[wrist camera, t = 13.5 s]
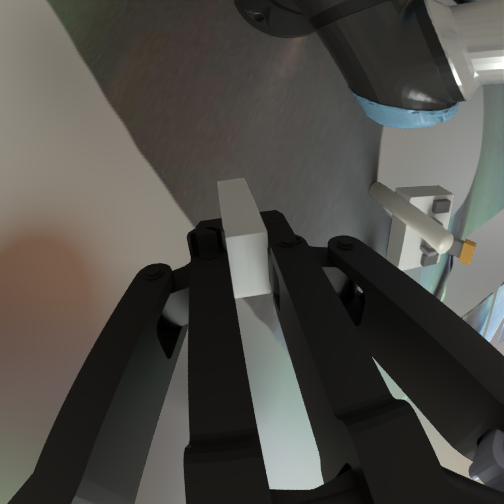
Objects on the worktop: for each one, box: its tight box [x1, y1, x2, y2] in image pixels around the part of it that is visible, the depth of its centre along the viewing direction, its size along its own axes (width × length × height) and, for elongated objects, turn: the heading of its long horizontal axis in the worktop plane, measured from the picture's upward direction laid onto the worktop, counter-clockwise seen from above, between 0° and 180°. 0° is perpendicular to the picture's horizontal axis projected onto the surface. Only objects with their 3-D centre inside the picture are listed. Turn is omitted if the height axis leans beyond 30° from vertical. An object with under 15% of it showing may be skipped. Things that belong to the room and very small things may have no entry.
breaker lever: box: [425, 237, 476, 265], centre depth 46 cm, size 4×2×10 cm
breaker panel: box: [386, 186, 454, 271], centre depth 51 cm, size 16×12×8 cm
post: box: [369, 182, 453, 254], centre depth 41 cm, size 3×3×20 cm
